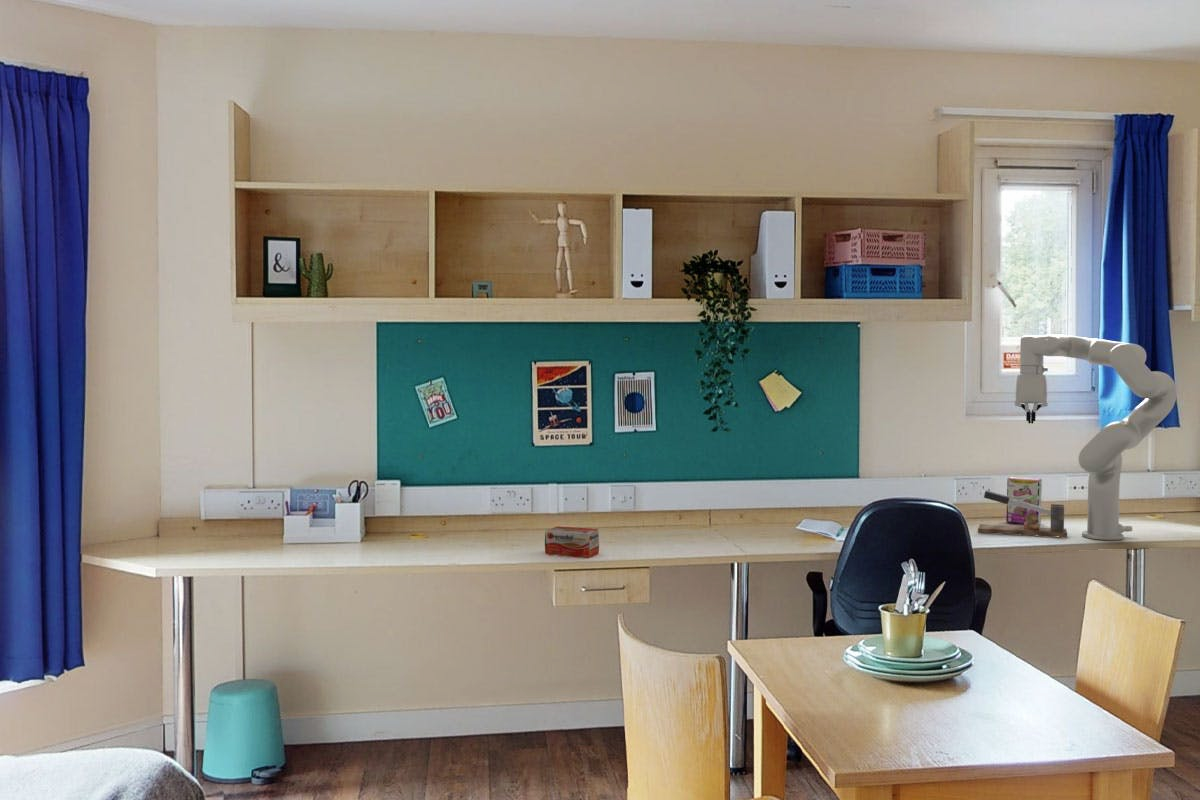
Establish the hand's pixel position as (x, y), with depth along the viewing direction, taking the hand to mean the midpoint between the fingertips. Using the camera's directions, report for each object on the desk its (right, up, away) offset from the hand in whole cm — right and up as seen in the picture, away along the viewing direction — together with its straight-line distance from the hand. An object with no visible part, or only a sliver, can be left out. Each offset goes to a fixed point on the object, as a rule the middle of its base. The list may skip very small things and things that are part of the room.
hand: (1030, 423), depth 377 cm
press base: (-6, -38, -7) cm, 39 cm away
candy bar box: (+3, -37, +13) cm, 39 cm away
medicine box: (-159, -40, -43) cm, 170 cm away
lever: (-6, -29, -7) cm, 30 cm away
